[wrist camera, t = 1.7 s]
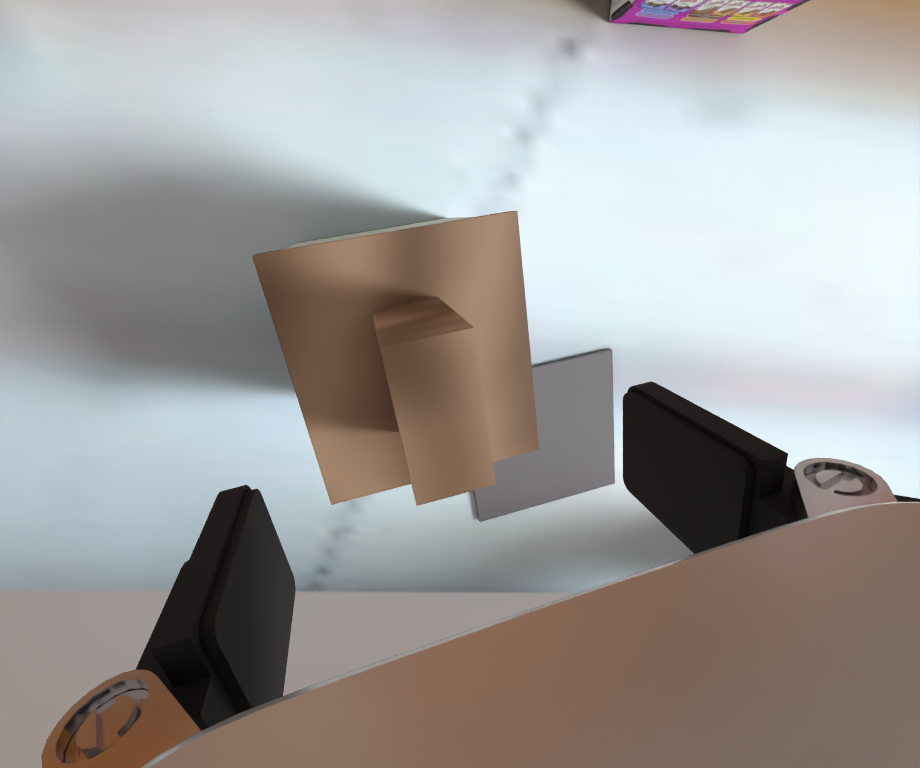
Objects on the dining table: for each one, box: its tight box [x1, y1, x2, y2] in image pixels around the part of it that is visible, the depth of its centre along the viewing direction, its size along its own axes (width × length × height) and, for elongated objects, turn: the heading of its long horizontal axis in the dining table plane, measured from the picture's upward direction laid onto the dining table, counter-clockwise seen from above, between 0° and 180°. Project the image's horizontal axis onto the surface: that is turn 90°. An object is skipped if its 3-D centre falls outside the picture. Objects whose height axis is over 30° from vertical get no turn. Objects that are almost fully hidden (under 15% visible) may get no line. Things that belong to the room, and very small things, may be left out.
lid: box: [252, 211, 539, 506], centre depth 19 cm, size 11×12×8 cm
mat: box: [474, 349, 615, 522], centre depth 40 cm, size 14×14×1 cm
